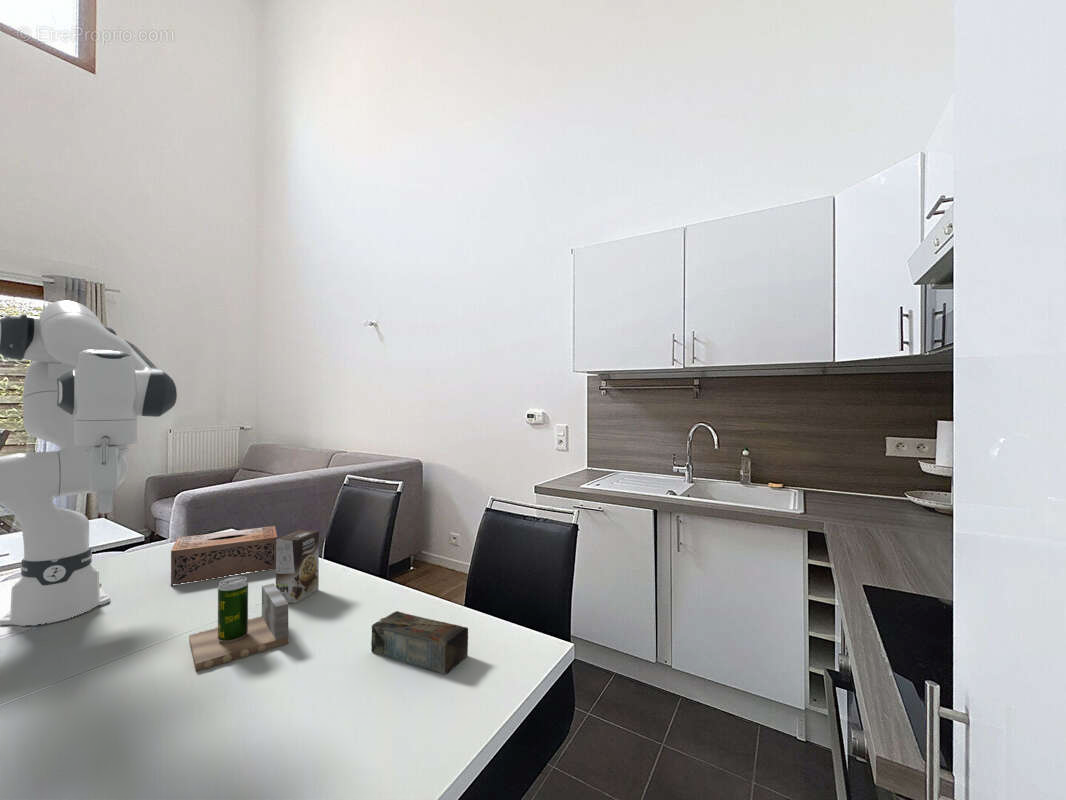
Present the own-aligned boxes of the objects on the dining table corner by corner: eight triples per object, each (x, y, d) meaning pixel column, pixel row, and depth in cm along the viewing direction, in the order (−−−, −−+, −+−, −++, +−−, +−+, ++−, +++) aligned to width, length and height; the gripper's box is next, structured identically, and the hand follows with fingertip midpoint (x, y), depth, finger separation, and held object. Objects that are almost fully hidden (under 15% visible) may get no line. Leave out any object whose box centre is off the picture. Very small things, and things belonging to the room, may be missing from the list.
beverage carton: (396, 636, 104) (396, 606, 104) (470, 656, 96) (470, 624, 96) (369, 653, 96) (370, 621, 96) (447, 677, 88) (447, 642, 88)
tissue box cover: (274, 556, 155) (274, 525, 155) (277, 569, 143) (277, 537, 143) (177, 570, 142) (177, 537, 142) (170, 587, 130) (171, 551, 130)
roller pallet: (189, 641, 100) (189, 601, 100) (273, 619, 111) (273, 583, 111) (196, 672, 89) (196, 627, 89) (288, 644, 100) (288, 604, 100)
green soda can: (242, 628, 103) (242, 574, 103) (251, 636, 99) (251, 580, 99) (214, 638, 99) (214, 581, 99) (222, 647, 95) (222, 588, 95)
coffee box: (296, 604, 119) (296, 540, 119) (274, 601, 120) (274, 538, 120) (319, 589, 128) (320, 530, 128) (299, 587, 129) (299, 529, 129)
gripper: (127, 437, 83) (127, 515, 83) (128, 431, 99) (128, 496, 99) (78, 439, 79) (78, 521, 79) (87, 432, 95) (87, 501, 95)
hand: (106, 507), depth 89 cm, fingers open, 8 cm apart
